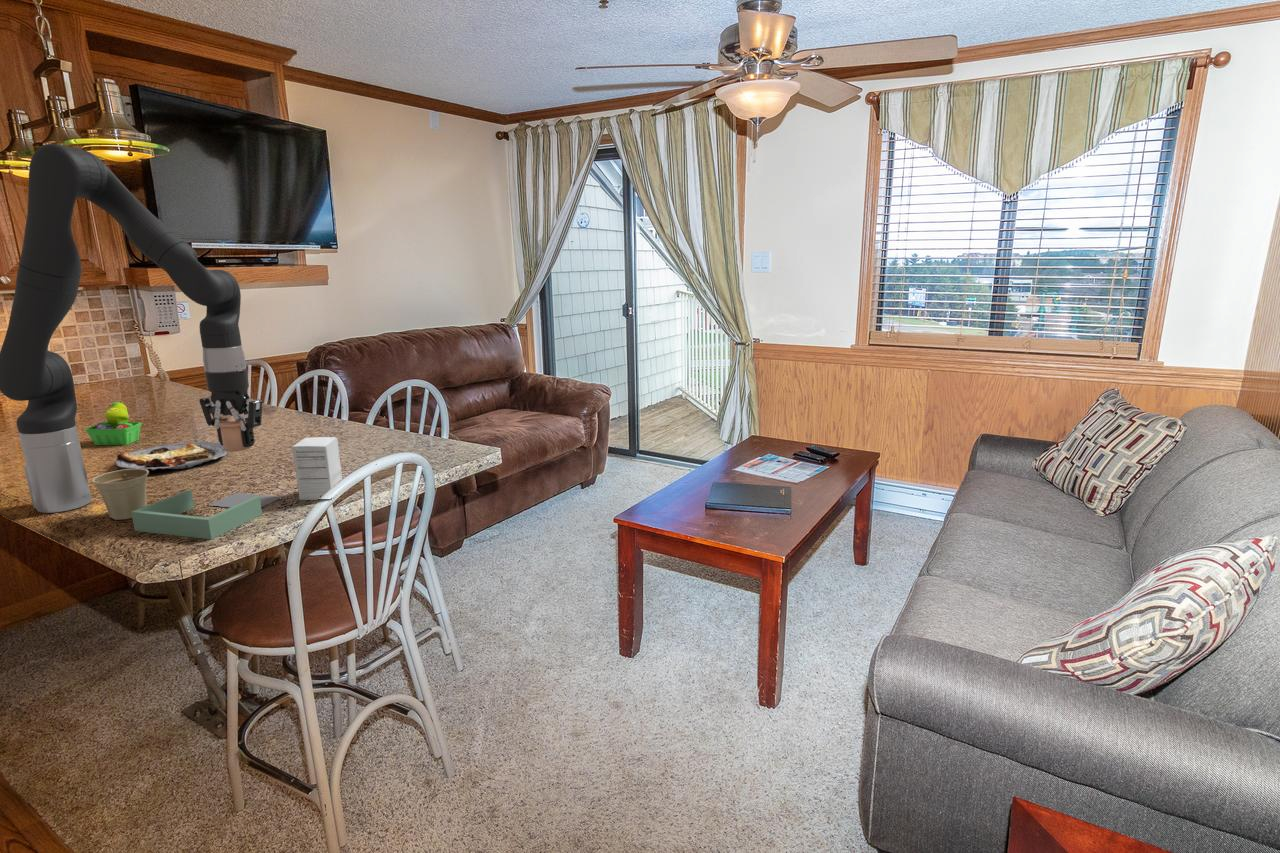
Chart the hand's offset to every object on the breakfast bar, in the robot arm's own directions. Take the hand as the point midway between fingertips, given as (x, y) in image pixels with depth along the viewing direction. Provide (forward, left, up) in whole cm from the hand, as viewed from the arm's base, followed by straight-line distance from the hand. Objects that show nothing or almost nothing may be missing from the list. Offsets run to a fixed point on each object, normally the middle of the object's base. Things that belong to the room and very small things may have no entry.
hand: (237, 445), depth 146 cm
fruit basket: (-72, +32, -13) cm, 80 cm away
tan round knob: (0, 0, -1) cm, 1 cm away
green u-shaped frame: (0, -12, -13) cm, 18 cm away
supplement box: (+13, +8, -13) cm, 20 cm away
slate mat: (0, 0, -13) cm, 13 cm away
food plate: (-41, +21, -14) cm, 48 cm away
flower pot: (-18, -12, -13) cm, 25 cm away
